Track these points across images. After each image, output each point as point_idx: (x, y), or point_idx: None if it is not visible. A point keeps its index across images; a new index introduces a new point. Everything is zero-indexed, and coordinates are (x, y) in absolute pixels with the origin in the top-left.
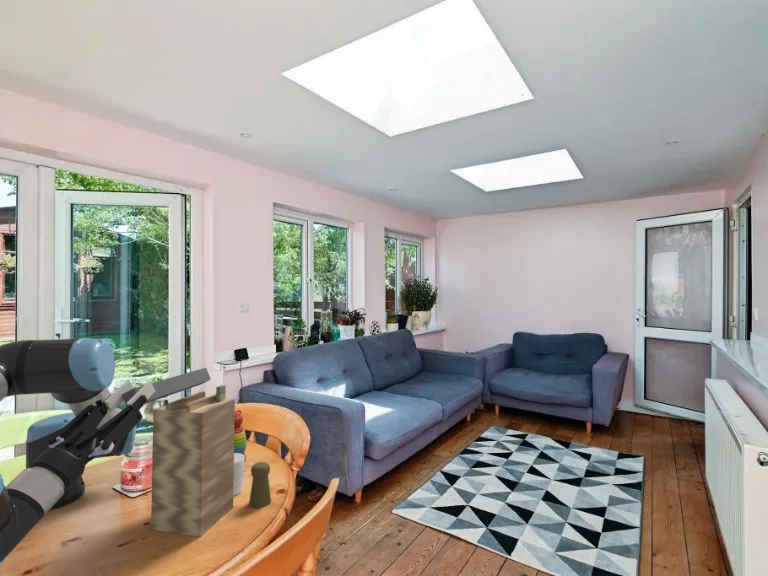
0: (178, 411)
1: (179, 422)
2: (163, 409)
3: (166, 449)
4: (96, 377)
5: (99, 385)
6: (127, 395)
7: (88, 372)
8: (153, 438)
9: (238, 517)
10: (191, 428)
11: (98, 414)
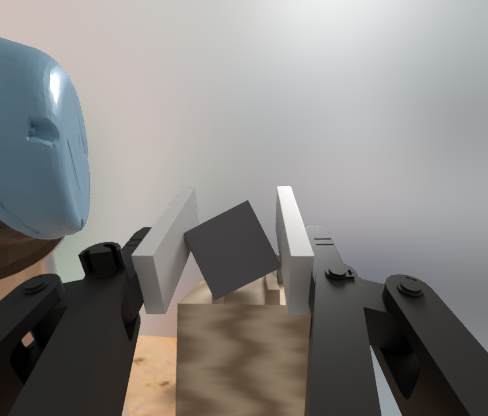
0: (247, 305)
1: (251, 332)
2: (203, 302)
3: (215, 405)
4: (55, 168)
5: (61, 211)
6: (213, 236)
7: (20, 133)
8: (178, 377)
9: None
10: (285, 346)
11: (116, 342)
